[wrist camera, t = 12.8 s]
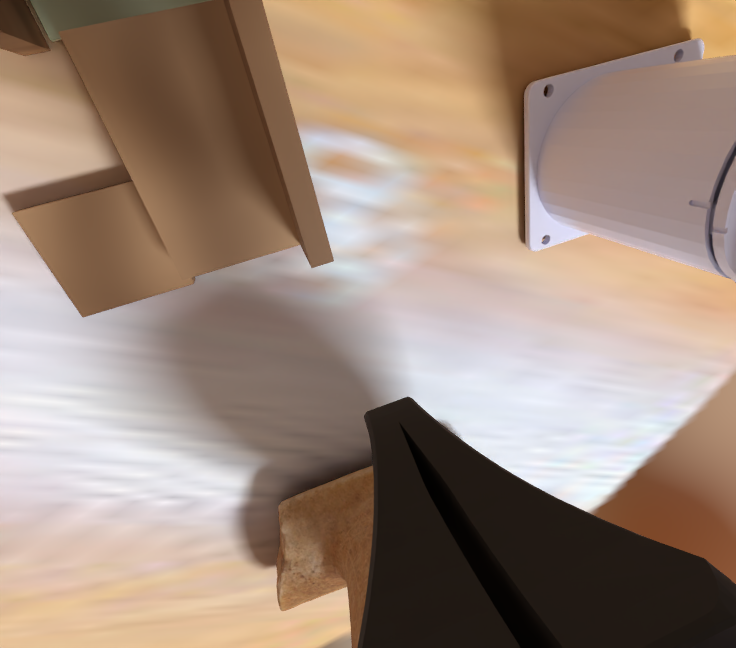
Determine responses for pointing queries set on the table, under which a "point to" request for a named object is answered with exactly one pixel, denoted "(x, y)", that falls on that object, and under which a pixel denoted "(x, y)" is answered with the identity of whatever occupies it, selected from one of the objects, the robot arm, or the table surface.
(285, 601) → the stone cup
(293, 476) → the table surface
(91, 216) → the walnut cabinet
